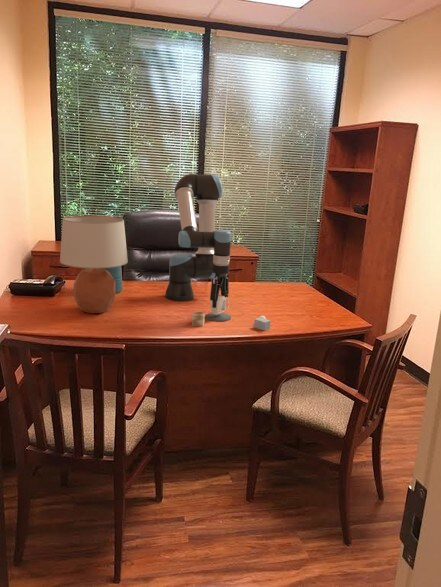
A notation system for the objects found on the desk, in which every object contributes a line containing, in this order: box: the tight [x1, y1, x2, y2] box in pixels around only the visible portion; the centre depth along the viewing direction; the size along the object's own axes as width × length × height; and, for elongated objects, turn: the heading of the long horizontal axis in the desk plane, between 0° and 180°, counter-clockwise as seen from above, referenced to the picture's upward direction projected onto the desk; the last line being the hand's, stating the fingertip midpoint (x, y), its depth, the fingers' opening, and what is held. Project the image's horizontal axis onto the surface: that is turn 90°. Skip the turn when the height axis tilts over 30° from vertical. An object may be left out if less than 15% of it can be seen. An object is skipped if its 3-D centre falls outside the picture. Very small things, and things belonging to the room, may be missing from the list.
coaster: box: [205, 312, 232, 322], centre depth 228 cm, size 12×12×1 cm
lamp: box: [59, 215, 129, 314], centre depth 222 cm, size 30×30×43 cm
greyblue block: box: [253, 317, 272, 332], centre depth 216 cm, size 6×4×4 cm, turn 48°
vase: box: [103, 266, 124, 294], centre depth 260 cm, size 16×16×27 cm
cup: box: [209, 294, 231, 314], centre depth 227 cm, size 7×10×8 cm
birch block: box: [191, 311, 206, 327], centre depth 216 cm, size 5×5×5 cm
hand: (218, 311), depth 227 cm, fingers closed on cup, 7 cm apart
